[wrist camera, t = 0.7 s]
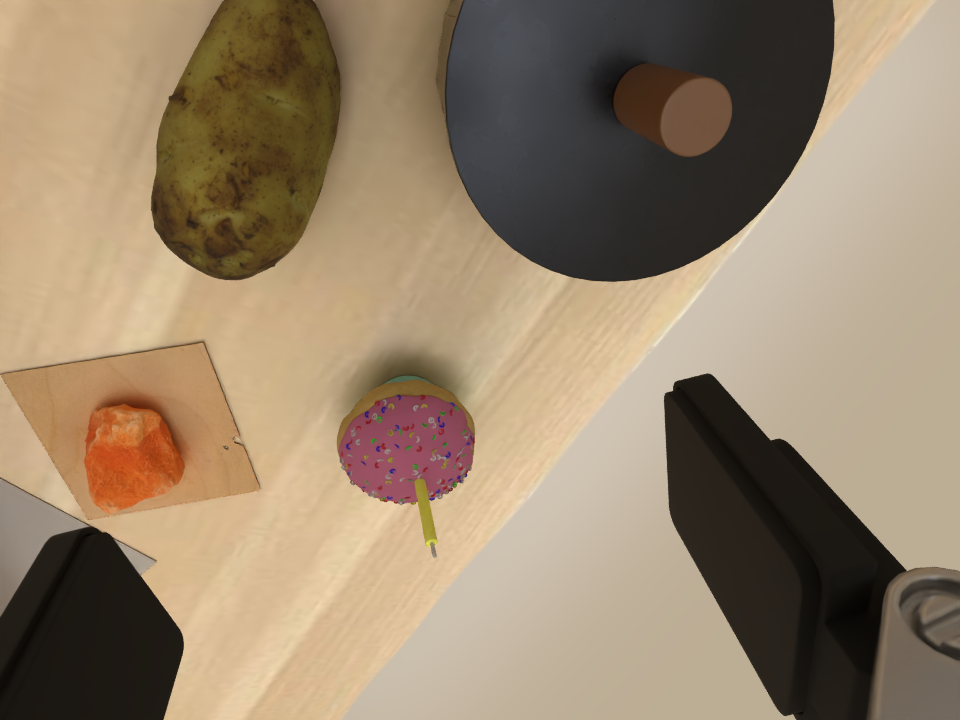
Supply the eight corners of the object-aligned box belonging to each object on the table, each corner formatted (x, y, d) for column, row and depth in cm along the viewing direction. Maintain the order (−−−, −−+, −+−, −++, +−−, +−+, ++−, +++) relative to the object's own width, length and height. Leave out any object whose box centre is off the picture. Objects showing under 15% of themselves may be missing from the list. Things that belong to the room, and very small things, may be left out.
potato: (408, 79, 32) (417, 102, 25) (270, 262, 36) (245, 325, 29) (266, -49, 29) (231, -62, 22) (130, 169, 33) (64, 216, 26)
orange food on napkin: (204, 341, 38) (186, 377, 34) (261, 489, 44) (251, 533, 41) (0, 373, 37) (-40, 414, 34) (88, 520, 43) (62, 568, 40)
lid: (478, -206, 21) (512, -273, 16) (886, -95, 24) (1027, -120, 19) (419, 253, 29) (428, 311, 24) (733, 288, 32) (803, 346, 27)
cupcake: (489, 415, 44) (523, 544, 34) (389, 472, 45) (393, 612, 35) (422, 326, 40) (438, 442, 29) (314, 392, 41) (293, 525, 31)
